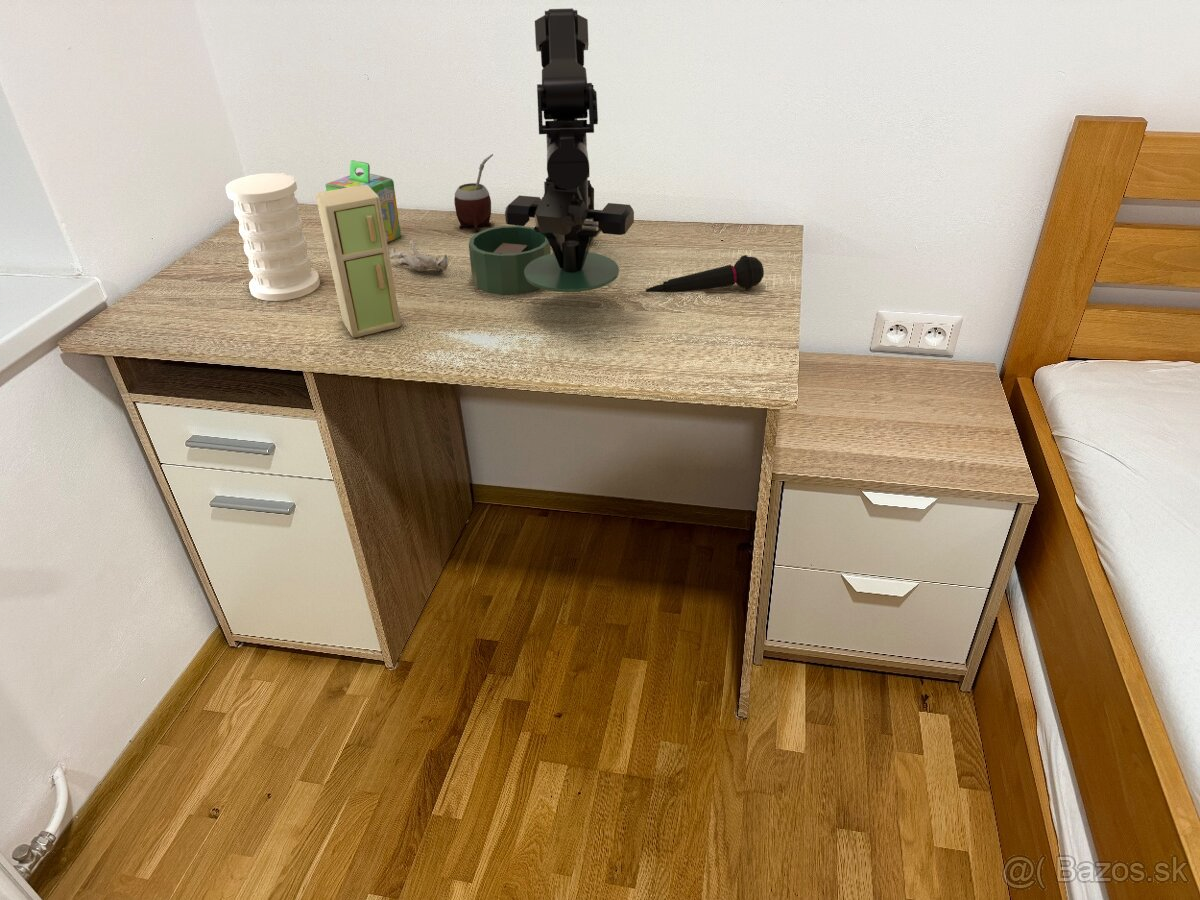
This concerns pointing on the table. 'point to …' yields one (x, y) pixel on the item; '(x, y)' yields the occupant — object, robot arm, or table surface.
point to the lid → (571, 271)
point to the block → (511, 248)
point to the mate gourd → (473, 204)
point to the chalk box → (381, 188)
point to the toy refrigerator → (359, 259)
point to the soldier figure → (420, 260)
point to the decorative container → (273, 236)
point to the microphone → (717, 277)
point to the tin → (505, 259)
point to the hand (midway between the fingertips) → (571, 268)
